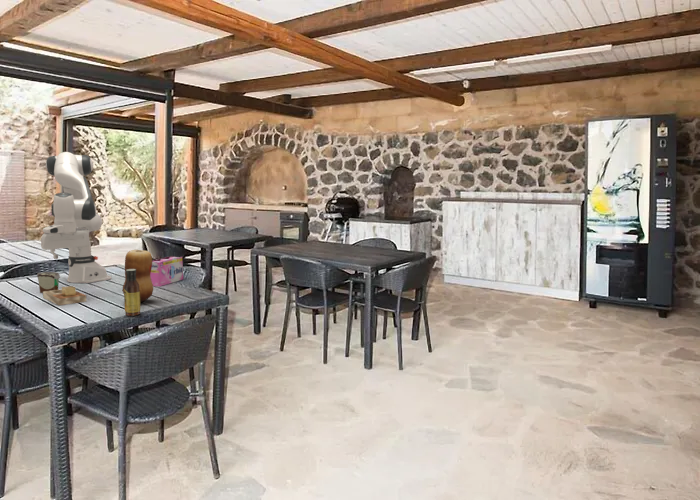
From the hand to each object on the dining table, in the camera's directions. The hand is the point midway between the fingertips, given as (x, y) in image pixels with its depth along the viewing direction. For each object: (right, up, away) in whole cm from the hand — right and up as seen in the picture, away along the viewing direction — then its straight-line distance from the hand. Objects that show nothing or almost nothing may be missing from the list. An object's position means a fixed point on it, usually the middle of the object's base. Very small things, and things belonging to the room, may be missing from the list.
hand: (67, 257), depth 240 cm
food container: (-19, -18, +21) cm, 33 cm away
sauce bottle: (+38, -25, -17) cm, 49 cm away
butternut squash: (+31, -21, +5) cm, 38 cm away
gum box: (+27, -15, +53) cm, 61 cm away
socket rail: (-5, -20, +7) cm, 22 cm away
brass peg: (0, -21, +3) cm, 21 cm away
